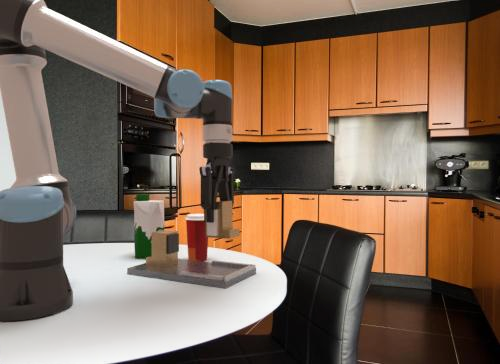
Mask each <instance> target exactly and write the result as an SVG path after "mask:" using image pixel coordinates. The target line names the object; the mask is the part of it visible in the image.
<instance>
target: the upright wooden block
mask: <svg viewBox="0 0 500 364" xmlns="http://www.w3.org/2000/svg"><path fill="white" fill-rule="evenodd" d="M215 209H217V210H218V236H208V235H207V215H206V209H203V214H204V223H206V237H208V238H210V239H211V238H214V239H227V240H229V239H235V238H236V237H240V228H239V227H234V226H233V221H234V220H233V207H232V201H220V199H218V200H216V208H215Z"/></svg>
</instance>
